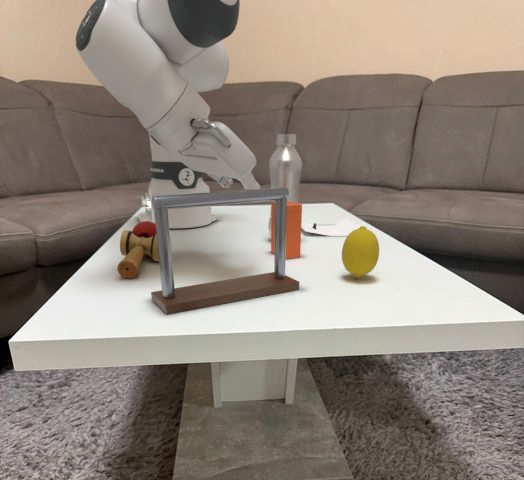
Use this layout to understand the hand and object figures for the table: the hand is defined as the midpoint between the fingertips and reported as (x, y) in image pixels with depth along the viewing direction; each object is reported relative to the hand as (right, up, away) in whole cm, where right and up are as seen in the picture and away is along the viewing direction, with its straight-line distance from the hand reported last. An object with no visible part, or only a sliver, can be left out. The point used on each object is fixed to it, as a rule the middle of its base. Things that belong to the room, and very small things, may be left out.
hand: (241, 188), depth 75 cm
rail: (-1, -19, -11) cm, 22 cm away
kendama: (-17, -12, +4) cm, 21 cm away
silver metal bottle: (+8, -4, +20) cm, 22 cm away
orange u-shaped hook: (+8, -9, +9) cm, 15 cm away
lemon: (+18, -16, -4) cm, 24 cm away
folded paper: (+18, 0, +29) cm, 34 cm away
